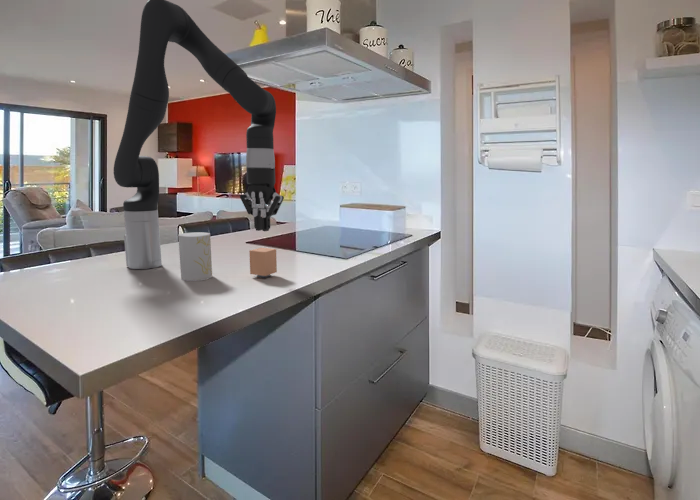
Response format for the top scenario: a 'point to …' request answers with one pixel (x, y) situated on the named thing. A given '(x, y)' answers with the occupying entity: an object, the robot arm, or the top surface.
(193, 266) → the white round cylinder
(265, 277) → the post
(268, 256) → the tan cardboard box
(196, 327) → the top surface
